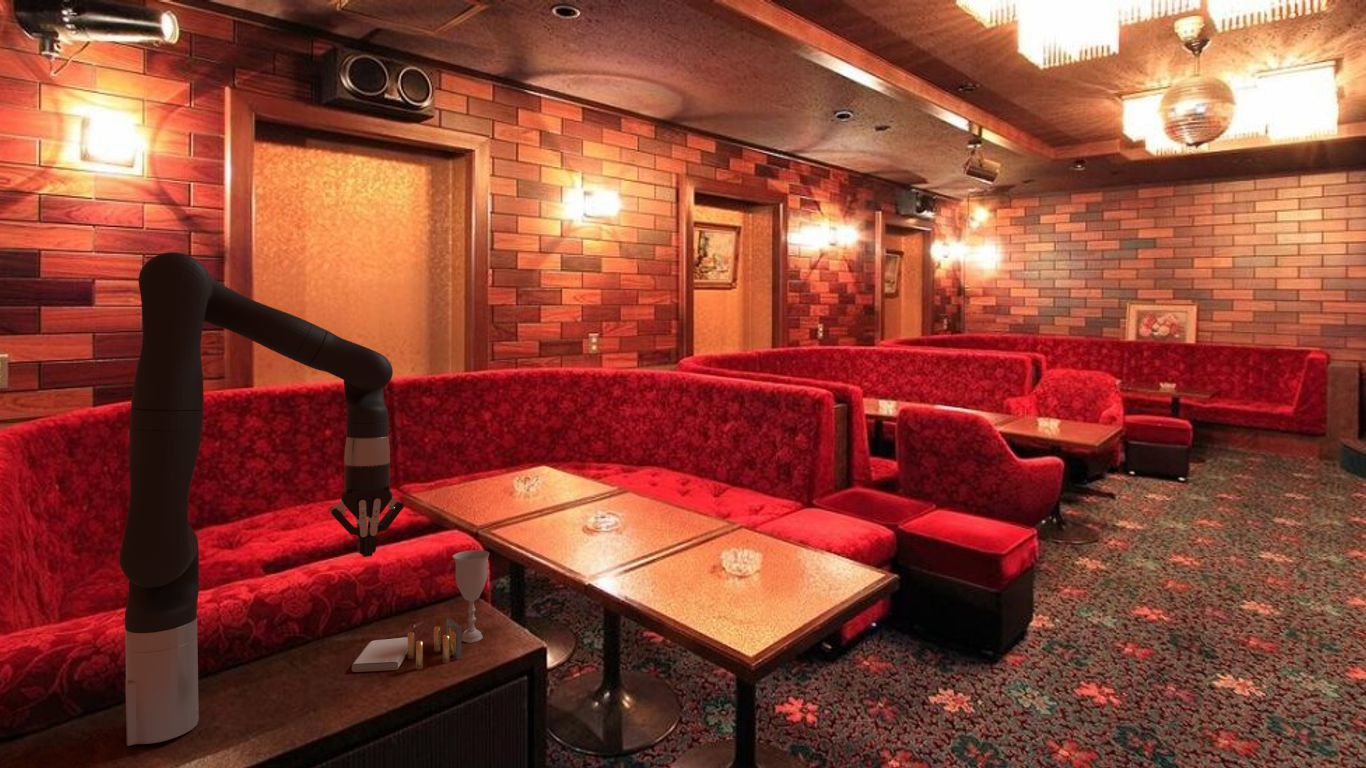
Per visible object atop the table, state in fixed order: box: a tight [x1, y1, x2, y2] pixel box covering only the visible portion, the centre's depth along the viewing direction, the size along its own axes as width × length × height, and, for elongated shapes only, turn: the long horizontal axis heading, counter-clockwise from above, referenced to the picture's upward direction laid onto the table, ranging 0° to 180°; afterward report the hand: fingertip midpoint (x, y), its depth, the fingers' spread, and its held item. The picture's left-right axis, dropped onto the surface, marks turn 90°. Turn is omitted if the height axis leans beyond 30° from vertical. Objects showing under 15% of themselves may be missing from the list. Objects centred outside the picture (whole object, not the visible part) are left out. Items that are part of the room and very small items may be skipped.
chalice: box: [452, 549, 490, 644], centre depth 145 cm, size 7×7×18 cm
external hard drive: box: [351, 636, 408, 673], centre depth 138 cm, size 2×8×12 cm
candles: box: [407, 617, 463, 671], centre depth 137 cm, size 9×6×6 cm
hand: (367, 555), depth 131 cm, fingers closed
